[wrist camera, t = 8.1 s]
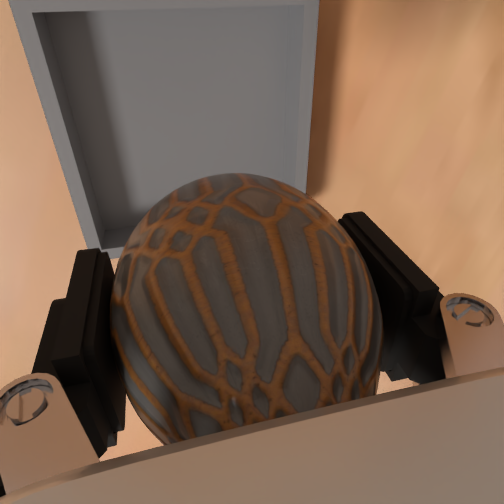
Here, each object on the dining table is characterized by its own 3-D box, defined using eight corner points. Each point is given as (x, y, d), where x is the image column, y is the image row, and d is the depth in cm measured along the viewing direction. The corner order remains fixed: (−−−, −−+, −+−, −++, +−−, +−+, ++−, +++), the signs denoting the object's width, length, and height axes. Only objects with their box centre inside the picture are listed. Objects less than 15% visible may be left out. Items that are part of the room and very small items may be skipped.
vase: (173, 98, 10) (240, 320, 3) (350, 196, 14) (571, 415, 7) (86, 283, 13) (21, 624, 6) (251, 329, 16) (334, 586, 9)
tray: (300, -14, 22) (320, -15, 19) (290, 212, 30) (303, 231, 27) (22, -9, 19) (5, -9, 16) (96, 237, 27) (91, 261, 25)
